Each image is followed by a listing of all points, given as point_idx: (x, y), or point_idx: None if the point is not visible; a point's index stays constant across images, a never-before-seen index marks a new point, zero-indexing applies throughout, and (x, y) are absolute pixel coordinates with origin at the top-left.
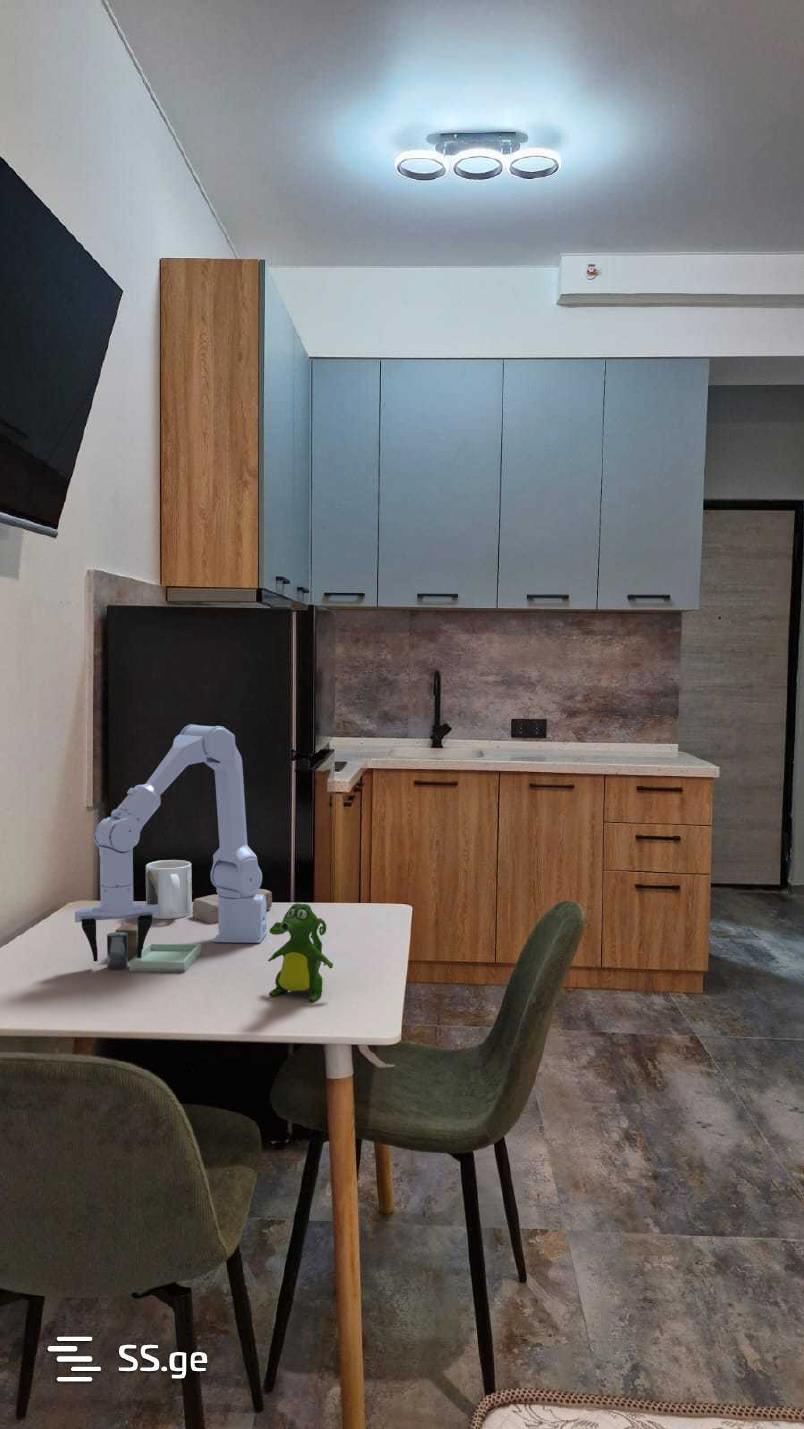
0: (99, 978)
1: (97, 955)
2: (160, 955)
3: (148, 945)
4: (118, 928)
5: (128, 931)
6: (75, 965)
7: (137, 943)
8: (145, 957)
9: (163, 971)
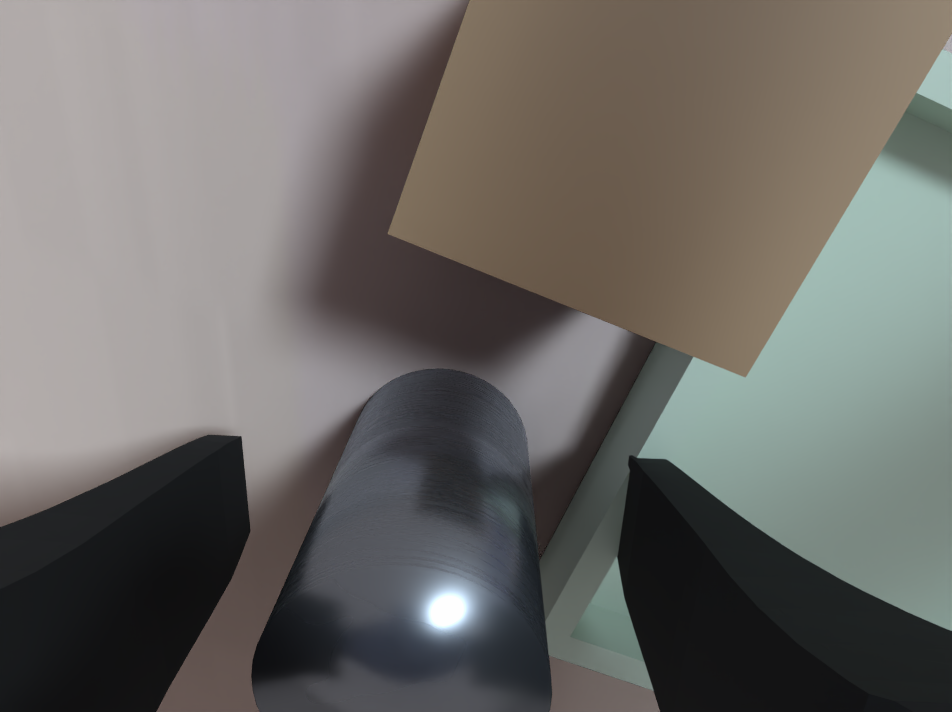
0: None
1: (228, 581)
2: (873, 337)
3: None
4: (447, 116)
5: (609, 315)
6: (59, 278)
7: (664, 545)
8: None
9: None
